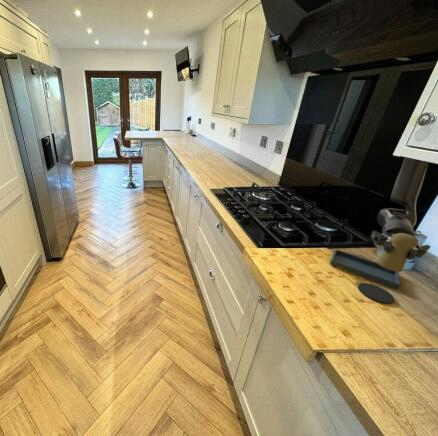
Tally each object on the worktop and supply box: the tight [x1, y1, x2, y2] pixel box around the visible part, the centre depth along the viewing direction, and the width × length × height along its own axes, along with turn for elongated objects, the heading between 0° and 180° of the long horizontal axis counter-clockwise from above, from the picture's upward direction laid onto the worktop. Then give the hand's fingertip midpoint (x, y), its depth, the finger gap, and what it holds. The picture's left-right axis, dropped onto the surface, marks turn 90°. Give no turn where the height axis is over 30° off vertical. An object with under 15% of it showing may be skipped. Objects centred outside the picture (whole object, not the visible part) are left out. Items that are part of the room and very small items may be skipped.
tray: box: [329, 248, 401, 290], centre depth 89 cm, size 19×11×2 cm, turn 48°
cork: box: [376, 233, 419, 273], centre depth 71 cm, size 6×6×11 cm
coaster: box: [357, 282, 395, 305], centre depth 77 cm, size 9×9×1 cm
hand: (399, 253), depth 69 cm, fingers closed on cork, 4 cm apart
